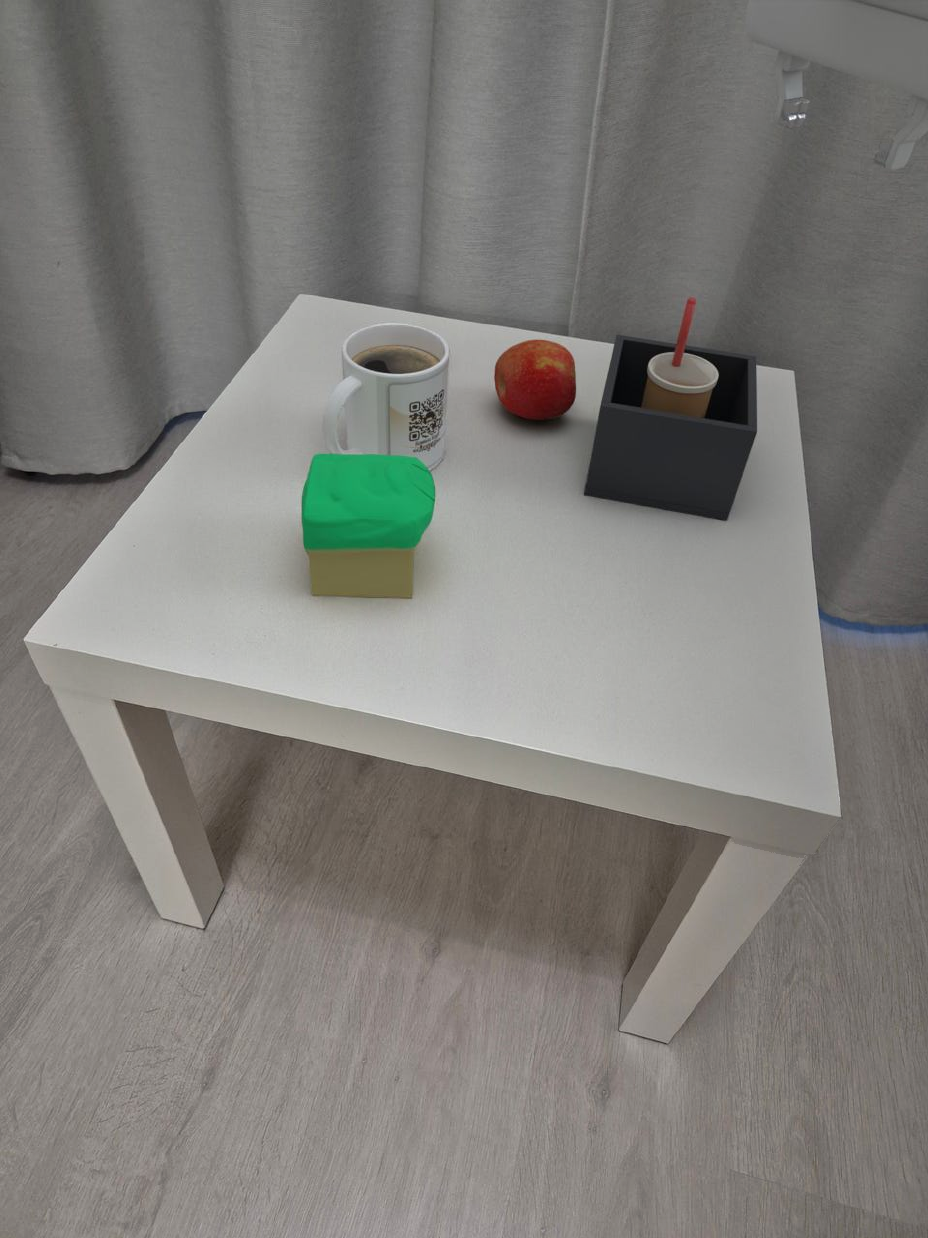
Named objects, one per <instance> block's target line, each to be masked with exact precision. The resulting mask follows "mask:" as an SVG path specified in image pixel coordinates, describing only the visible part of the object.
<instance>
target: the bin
mask: <svg viewBox="0 0 928 1238" xmlns="http://www.w3.org/2000/svg"><path fill="white" fill-rule="evenodd" d="M676 344H677V343H673V342H667V341H660V340H655V339H649V338H642V337H635V336H629V335H623V334H616V335H615V339H614V343H613V348H612V352H611V357H610V362H609V365H608V369H607V374H606V379H605V384H604V388H603V392H602V398H601V402H600V405H599V411H598V416H597V422H596V427H595V433H594V438H593V443H592V448H591V454H590V460H589V465H588V470H587V475H586V476H587V477H586V482H585V486H584V492H583V495H584V496H589V497H594V498H599V499H605V500H610V501H615V502H616V501H617V502H622V503H628V504H633V505H638V506H644V507H650V508H655V509H660V510H665V511H670V512H671V511H672V512H678V513H683V514H689V515H693V516H699V517H700V516H701V517H705V518H711V519H716V520H722V521H728V520H729V517H730V513H731V511H732V508H733V504H734V502H735V499H736V496H737V494H738V490H739V487H740V484H741V481H742V479H743V475H744V472H745V469H746V466H747V464H748V460H749V458H750V456H751V455H750V454H751V452H752V449H753V447H754V446H753V445H754V442H755V440H756V436H757V433H758V391H757V390H758V384H757V380H758V379H757V356H756V355H751V354H744V353H737V352H731V351H724V350H719V349H713V348H712V349H711V348H705V347H699V346H692V345H687V344H686V345H685V349H684V353H687V354H691V355H695V356H698V357H701V358H703V359H705V360H707V361H708V362H710V363H711V364H712V365H714V366H715V368H716V369H717V371H718V375H719V376H718V380H717V383H716V385H715V386H714V387H713V389H712V393H711V396H710V400H709V404H708V407H707V411H706V414H705V418H699V417H693V416H687V415H681V414H675V413H669V412H663V411H657V410H651V409H645V408H641V405H642V401H643V396H644V392H645V387H646V383H647V378H648V373H647V368H648V364H649V361H650V360H651V359H652V358H653V357H655V356H657V355H659V354H663V353H670V352H675V348H676Z"/></svg>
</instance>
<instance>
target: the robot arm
mask: <svg viewBox="0 0 928 1238" xmlns="http://www.w3.org/2000/svg"><path fill="white" fill-rule="evenodd" d="M744 27H745V32H746V37H747V39H748V41H749V42H753V43H755V44H758V45H761V46H763V47H766V48H770V49H773V50H776V51H778V54H777V57H776V60H775V63H774V64H775V65H774V75H775V82H776V89H777V95H778V98H779V99H778V102H777V107H776V109H775V110H776V111H775V114H774V118H773V122H774V123H775V124H776V125H778V126H781V127H783V128H784V127H785V128H787V129H790V130H793V129H798V128H799V129H800V128H801V127H802V126H803V125H804V123H805V121H806V118H807V115H806V113H807V112H808V111H809V108H810V104H811V100H810V99H807V98H805V97H804V89H803V70H808V69H809V68H810V64H811V62H812V63H814V64H818V65H820V66H823V67H827V68H829V69H832V70H835V71H839V72H841V73H845V74H847V75H849V76H850V75H851V76H854V77H857V78H860V79H863V80H865V81H869V82H872V83H874V84H877V85H881V86H883V87H886V88H890V89H893V90H895V91H898V92H901V93H904V94H907V95H909V96H910V95H911V96H910V99H909V102H908V104H907V107H906V110H905V114H906V115H909V116H912V117H910V118H909V120H907V122H906V123H905V124H904V126H902V127H901V128H900V130H899V131H898V132H897V133H894V134H889V135H883V136H882V137H881V138H880V141H879V145H878V151H877V152H876V153H875V156H874V159H873V160H874V161H873V162H874V164H876V165H878V166H881V167H883V168H886V169H888V170H891V171H896V170H900V169H903V168H905V166H906V165H907V164H908V162H909V160H910V157H911V155H912V152H913V149H914V147H915V144H916V141H919V140H920V139H921V138H922V137H923V136H924V135H925V134H926V133H927V132H928V0H749V1H748V4H747V7H746V12H745V16H744Z"/></svg>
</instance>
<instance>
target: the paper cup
mask: <svg viewBox="0 0 928 1238" xmlns="http://www.w3.org/2000/svg"><path fill="white" fill-rule="evenodd" d="M696 305H697V299H696V298H695V297H693V296H691V297H688V299H687V300H686V303H685V307H684V311H683V316H682V319H681V324H680V327H679V333H678V336H677V340H676V343H675V344H676V348H675V352H670V353H663V354H659V355H657V356H655V357H653V358H652V359H651V360H650V361H649V364H648V368H647V373H648V378H647V383H646V387H645V392H644V396H643V401H642V405H641V408H645V409H651V410H657V411H663V412H669V413H675V414H681V415H687V416H693V417H699V418H705V414H706V411H707V407H708V404H709V400H710V396H711V393H712V389H713V387H714V386H715V385H716V383H717V380H718V376H719V375H718V371H717V369H716V368H715V366H714V365H712V364H711V363H710V362H708V361H707V360H705V359H703V358H701V357H698V356H695V355H691V354H687V353H684V349H685V345H687V341H688V337H689V332H690V329H691V325H692V321H693V320H692V319H693V316H694V313H695V309H696Z"/></svg>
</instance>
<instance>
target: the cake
mask: <svg viewBox="0 0 928 1238" xmlns="http://www.w3.org/2000/svg"><path fill="white" fill-rule="evenodd" d="M301 493H302V495H301V527H302V542H303V543H302V544H303V548H304V550H305V552H306V554H307V557H308V565H309V575H310V585H311V595H312V596H313V597H315V596H316V597H346V598H347V597H350V598H351V597H352V598H353V597H355V598H356V597H357V598H358V597H359V598H385V599H386V598H391V599H413V586H414V585H413V583H414V557H415V556H414V555H415V548H416V547H417V545H418V544H419V543H420V541H421V540H422V537H423V535H424V533H425V532H426V530H427V529H428V527H429V526H430V525H431V523H432V521H433V517H434V511H435V503H436V486H435V480H434V478H433V474H432V473H431V470H430V471H429V470H428V468H427V467H426V466H425V465H424V464H423V463H422V462H421V461H420V460H419V459H417V458H416V457H409V456H401V455H377V454H362V455H361V454H333V453H322V452H321V453H314V455H313V456H312V459H311V461H310V466H309V470H308V472H307V477H306V480H305V482H304V485H303V488H302V492H301Z"/></svg>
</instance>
